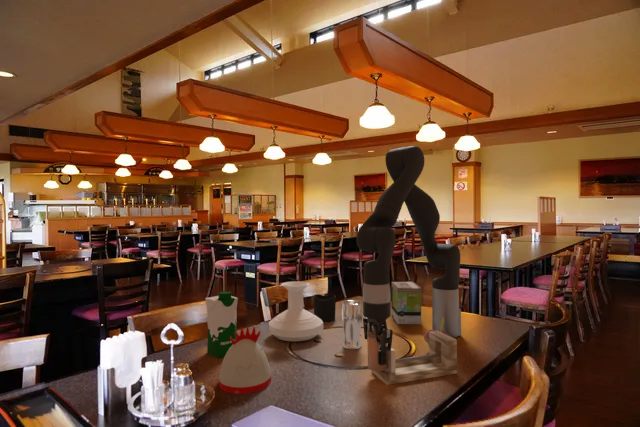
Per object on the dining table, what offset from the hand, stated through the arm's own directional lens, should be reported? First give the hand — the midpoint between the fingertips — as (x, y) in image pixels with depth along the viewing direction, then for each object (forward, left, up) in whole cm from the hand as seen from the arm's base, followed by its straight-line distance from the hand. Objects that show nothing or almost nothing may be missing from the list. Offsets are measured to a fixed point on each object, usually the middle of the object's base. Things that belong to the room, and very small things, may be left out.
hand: (377, 360), depth 112 cm
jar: (0, 0, -2) cm, 2 cm away
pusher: (-12, 0, -4) cm, 12 cm away
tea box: (-37, -49, -5) cm, 62 cm away
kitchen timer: (+35, -10, -5) cm, 36 cm away
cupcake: (-27, -12, -5) cm, 30 cm away
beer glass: (-3, -26, -5) cm, 26 cm away
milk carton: (+39, -35, -5) cm, 52 cm away
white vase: (+12, -43, -5) cm, 45 cm away
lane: (-11, 0, -5) cm, 12 cm away
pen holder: (-5, -60, -5) cm, 60 cm away
